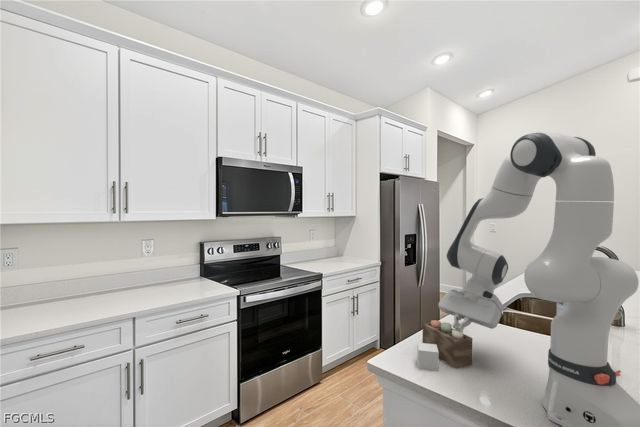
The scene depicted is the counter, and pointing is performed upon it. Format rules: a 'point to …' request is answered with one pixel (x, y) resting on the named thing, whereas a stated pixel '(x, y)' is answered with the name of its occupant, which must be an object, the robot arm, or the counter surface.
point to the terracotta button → (435, 323)
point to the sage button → (446, 327)
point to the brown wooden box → (449, 346)
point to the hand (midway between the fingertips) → (456, 328)
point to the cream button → (457, 334)
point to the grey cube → (428, 356)
